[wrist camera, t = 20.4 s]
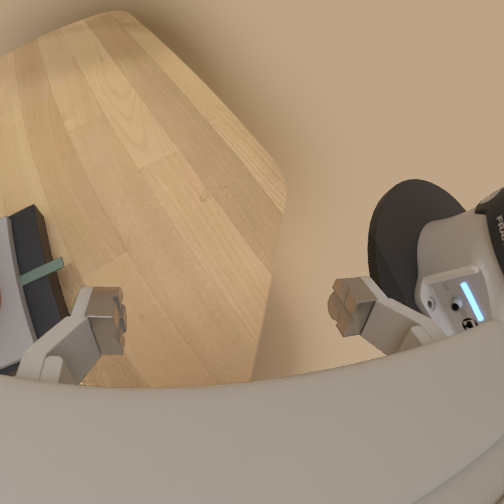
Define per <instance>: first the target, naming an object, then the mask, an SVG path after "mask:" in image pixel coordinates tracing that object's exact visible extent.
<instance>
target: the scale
mask: <svg viewBox="0 0 504 504" xmlns="http://www.w3.org/2000/svg"><path fill="white" fill-rule="evenodd" d="M62 268H64V264H63V260H62V257H60V258H58V259H55V260H53V258H52V254H51V250H50V245H49V241H48V236H47V231H46V226H45V221H44V217H43V215H42V214H41V213H40V211H39V210H38V209H37V208H36V206H35V205H34V204H33V205H31V206H29V207H27V208H25V209H23V210H21V211H19V212H17V213H15V214H13V215H11V216H9V217H7V216H4V217H2V218H1V219H0V292H1V306H0V374H1V375H6V376H12V377H13V376H16V373H17V370H18V367H19V364H20V361H21V358H22V356H23V353H24V351H25V350H26V349H28V348H29V347H30V346H31V345H32V344H34V343H35V342H36V341H37V340H38V339H40V338H41V337H42V336H43V335H44V334H46V333H47V332H48V331H49V330H50V329H52V328H53V327H54V326H55V325H57V324H58V323H59V322H60V321H62V320H63V319H64V318H65V317H67V316H69V317H70V315H69V313H68V310H67V307H66V304H65V300H64V297H63V294H62V291H61V287H60V284H59V281H58V277H57V273H56V271H57V270H59V269H62Z"/></svg>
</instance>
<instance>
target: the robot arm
mask: <svg viewBox="0 0 504 504" xmlns="http://www.w3.org/2000/svg"><path fill="white" fill-rule="evenodd" d="M417 264H418V279H417V283H416V287H415V293H414V299H415V303H416V305H417V306H418V308H419V310H420V311H421V313H422V314H423V315H422V314H420V313H418V312H417V311H415V310H413V309H411V308H409V307H407V306H405V305H403V304H401V303H399V302H397V301H395V300H393V299H391V298H390V299H388V298H387V297H386V295H385V294H384V293H383V292H382V291H381V289H380V288H379V287H378V286H377V285H376V284H375V282H374V281H373V280H372V279H371V278H370V277H368V276H363V277H357V278H345V279H336V280H335V282H334V284H333V287H332V288H333V290H334V292H333V293H332V294H331V295H330V296H329V300H328V311H329V314H330V316H331V318H332V319H334V320H336V321H337V325H336V326H337V328H338V330H339V331H340V333H341V335H342V336H343V337H347V336H354V335H360V336H362V337H363V338H364V339H366V340H367V341H368V342H370V343H371V344H372V345H374V346H375V347H376V348H378V349H379V350H381V351H382V352H383V353H384V354H386V355H387V356H384V357H380V358H376V359H372V360H368V361H364V362H360V363H356V364H351V365H346V366H342V367H337V368H332V369H327V370H322V371H317V372H311V373H306V374H300V375H294V376H287V377H281V378H274V379H267V380H259V381H250V382H241V383H231V384H220V385H206V386H189V387H157V388H133V387H102V386H86V385H79V384H80V382H81V381H82V380H83V378H84V377H85V376H86V375H87V373H88V372H89V371H90V370H91V368H92V367H93V366H94V364H95V363H96V362H97V361H98V359H99V358H100V357H101V355H123V354H124V345H125V338H124V333H125V332H126V328H127V315H126V308H125V306H124V305H123V304H122V300H123V293H122V289H121V288H120V287H81V288H80V290H79V293H78V296H77V298H76V301H75V304H74V307H73V310H72V312H71V315H70V317H69V316H67V317H65V318H64V319H63V320H62V321H60V322H59V323H58V324H57V325H55V326H54V327H53V328H52V329H50V330H49V331H48V332H47V333H46V334H44V335H43V336H42V337H41V338H40V339H38V340H37V341H36V342H35V343H34V344H32V345H31V346H30V347H29V348H28V349H26V350H25V351H24V353H23V356H22V358H21V361H20V364H19V367H18V370H17V373H16V376H15V377H12V376H6V375H1V374H0V504H504V188H503V187H502V188H500V189H499V190H497V191H495V192H494V193H492V194H491V195H489V196H488V197H486V198H485V199H483V200H482V201H480V203H479V204H478V205H477V206H476V207H475V208H473V209H471V210H469V211H466V212H464V213H461V214H459V215H456V216H453V217H449V218H446V219H441V220H435V221H431V222H429V223H427V224H426V225H425V226H424V228H423V229H422V231H421V233H420V236H419V239H418V245H417Z"/></svg>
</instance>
